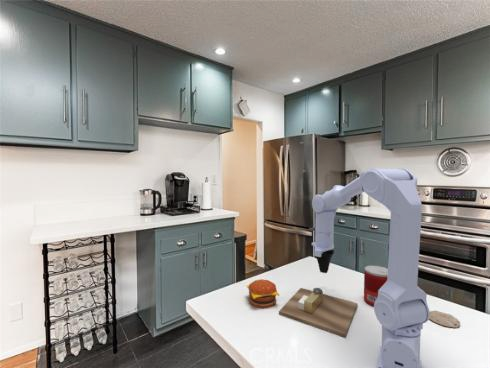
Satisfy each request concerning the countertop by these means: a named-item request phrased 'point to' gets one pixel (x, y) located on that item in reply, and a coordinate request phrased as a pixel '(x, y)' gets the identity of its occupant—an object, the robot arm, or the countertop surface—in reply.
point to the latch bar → (313, 300)
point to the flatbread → (444, 319)
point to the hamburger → (262, 293)
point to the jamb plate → (322, 313)
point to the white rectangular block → (302, 302)
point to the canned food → (373, 282)
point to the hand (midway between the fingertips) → (323, 272)
